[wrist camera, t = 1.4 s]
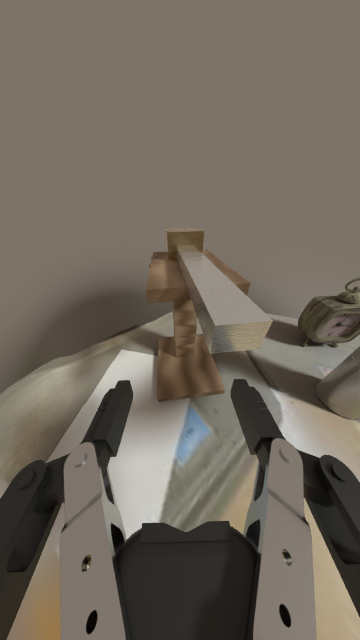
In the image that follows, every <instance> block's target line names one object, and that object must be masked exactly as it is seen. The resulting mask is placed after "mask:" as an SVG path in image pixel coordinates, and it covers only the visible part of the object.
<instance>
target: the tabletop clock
mask: <svg viewBox="0 0 360 640" xmlns="http://www.w3.org/2000/svg"><path fill="white" fill-rule="evenodd" d="M358 280H360V278H357V279H354V280H352V281H350V282H349V283H347V285H346V286H345V289H346V290H347V292H342V293H340V294H338V295H337V296H319V297H315V298H313V299H312V300H311V301H310V302H309V303H308V305H307V306H306V308H305V309H304V311H303V312H302V314H301V316H300V318H299V320H298V328H299V329H300V330H301V331H302V332H303V333H304V334H305V335H306V336H307V337H308V338H307V340H306V341H305V342H303V343H302V346H307V345H308V344H307V342H308V341H309V340H311V341H313V342H316V343H332V346H333V347H338V343H345V342H349V341H351V340H353V339H354V338H355V337H357V336H358V335H359V334H360V294H358V293H356V292H360V288H359V287H354V289H349V288H348V285H349V284H350V283H352V282H354V281H358Z"/></svg>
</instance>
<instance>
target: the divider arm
mask: <svg viewBox="0 0 360 640" xmlns="http://www.w3.org/2000/svg"><path fill="white" fill-rule="evenodd" d="M203 237H204V231H203V230H200V229H198V228H169V229H166V240H167V254H168V260H169V261H170V260H177V261H178V264H179V267H180V270H181V273H182V275H183V278H184V281H185V284H186V287H187V290H188V292H189V295H190V298H191V301H192V304H193V306H194V309H195V312H196V315H197V318H198V321H199V323H200V326H201V329H202V332H203V335H204V337H205V340H206V343H207V346H208V349H209V352H210V354H214V353H224V352H234V351H244V350H254V349H259V348H260V346H261V344H262V342H263V340H264V338H265V336H266V334H267V332H268V330H269V328H270V326H271V324H272V322H273V320H272V319H270V318H269V317H268V316H267V315H266V314H265V313H264V312H263V311H262V310H261V309H260V308H259V307H258V306H257V305H256V304H255V303H254V302H253V301H252V300H250V299H249V298H248V297H247V296H246V295H245V294H244V293H243V292H242V291H241V290H240V289H239V288H238V287H237V286H236V285H235V284H234V283H233V282H232V281H230V280H229V279H228V278H227V277H226V276H225V275H224V274H223V273H222V272H221V271H220V270H219V269H218V268H217V267H216V266H215V265H214V264H213V263H212V262H210V261H209V260H208V259H207V258H206V257H205V256H204V255H203V254H202V251H203Z"/></svg>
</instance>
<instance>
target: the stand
mask: <svg viewBox="0 0 360 640" xmlns="http://www.w3.org/2000/svg"><path fill="white" fill-rule="evenodd" d="M202 254H203V255H204V256H205V257H206V258H207V259H208V260H209V261H210V262H212V263H213V264H214V265H215V266H216V267H217V268H218V269H219V270H220V271H221V272H222V273H223V274H224V275H225V276H226V277H227V278H228V279H229V280H230V281H232V282H233V283H234V284H235V285H236V286H237V287H238V288H239V289H240V290H241V291H242V292H243V293H244V294H245V295H246V296H247V293H248V289H249V286H250V282H248V281H247V280H246V279H244V278H243V277H242V276H240V275H239V274H238V273H237V272H235V271H234V270H232V269H231V268H230V267H229V266H227V265H226V264H225V263H224V262H222V261H221V260H219V259H218V258H217V257H215V256H214V255H213V254H212V253H211V252H209V251H208V250H203V251H202ZM151 259H152V262H151V264H150V265H149V266H150V272H149V277H148V283H147V287H146V292H147V297H148V303H157V302H172V301H173V319H174V337H163V338H158V389H157V399H158V401H165V400H173V399H181V398H190V397H198V396H206V395H214V394H222V393H224V391H225V389H224V386H223V383H222V380H221V378H220V375H219V372H218V369H217V367H216V364H215V361H214V358H213V356H212V354H210V352H209V349H208V346H207V343H206V340H205V337H204V335H203V334H197V335H196V326H197V315H196V312H195V309H194V306H193V304H192V301H191V298H190V295H189V292H188V290H187V287H186V284H185V281H184V278H183V275H182V273H181V270H180V267H179V264H178V261H177V260H170V261H169V260H168V254H167V252H153V257H151Z"/></svg>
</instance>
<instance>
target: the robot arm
mask: <svg viewBox="0 0 360 640" xmlns="http://www.w3.org/2000/svg"><path fill="white" fill-rule="evenodd" d="M315 391H316V394H317V396H318V397H319V399H320V400H321V401H322V402H323V403H324V405H325V406H327V407H328V408H329V409H330V410H332V411H333V412H335V413H336V414H338V415H340V416H342V417H345V418H348V419H353V420H356V419H360V347H359V348H357V349H356V350H355V351H354V352H353V353H352V354H351V355H350V356H348V357H347V358H346V359H345V360H344V361H343V362H342V363H341V364H339V365H338V366H337V367H336V368H335V369H334V370H333V371H331V372H330V373H329V374H328V375H327V376H326V377H325V378H323V379H322V380H321V381H320V382H319V383H318V384H317V385H316V387H315ZM231 399H232V402H233V405H234V408H235V411H236V414H237V417H238V419H239V422H240V425H241V428H242V431H243V434H244V437H245V440H246V443H247V446H248V448H249V451H250V454H251V455H257V457H258V460H259V462H258V467H257V473H256V479H255V484H254V490H253V496H252V500H251V504H250V507H249V510H248V513H247V518H246V523H245V528H244V534H243V535H242V534H241V533H240V532H239V531H237V530H236V529H234V528H233V527H231V526H230V524H229V521H210V522H206V523H204V524H202V525H200V526H198V527H196V528H194V529H193V530H191V531H189V532H183V531H181V530H179V529H176V528H174V527H172V526H170V525H168V524H165V523H142V528H141V529H139V530H138V531H136V532H135V533H134V534H132V535H131V536H130V537H129V538H128V539H126V535H125V531H124V527H123V522H122V519H121V515H120V512H119V510H118V507H117V504H116V500H115V496H114V492H113V487H112V483H111V479H110V474H109V470H108V463H109V460H110V457H116V455H117V452H118V448H119V445H120V442H121V438H122V435H123V431H124V428H125V424H126V421H127V417H128V414H129V410H130V407H131V403H132V400H133V391H132V387H131V384H130V381H129V380H123V381H118V382H117V385H116V387H115V389H110V390H109V391H108V392H107V393H106V394H105V395H104V398H103V400H102V402H101V405H100V406H99V408H98V411H97V412H96V414H95V416H94V418H93V420H92V423H91V425H90V427H89V429H88V431H87V433H86V435H85V437H84V439H83V441H82V442H81V443H80V445H79V446H77V447H76V448H75V449H74V450H73V451H72V452H71V453H69V454H68V455H65V456H63V457H61V458H58V459H56V460H53V461H51V462H48V463H45V462H44V461H42V460H38V461H34V462H32V463H30V464H29V465H27V466H26V467H25V468H23V469H22V470H21V471H20V472H19V473H18V474H17V475H16V477H15V478H14V479H13V481H12V482H11V483H10V485H9V487H8V488H7V490H6V491H5V493H4V494H3V496H2V497H1V499H0V640H6V639H7V637H8V634H9V632H10V629H11V627H12V625H13V622H14V620H15V617H16V615H17V612H18V609H19V607H20V605H21V602H22V600H23V598H24V595H25V592H26V590H27V588H28V585H29V583H30V580H31V578H32V576H33V573H34V571H35V568H36V565H37V563H38V561H39V558H40V556H41V553H42V551H43V549H44V546H45V543H46V541H47V539H48V536H49V534H50V531H51V529H52V526H53V524H54V522H55V519H56V517H57V514H58V512H59V509H60V507H61V504H62V503H64V502H65V525H64V527H63V529H62V531H61V536H60V609H61V610H60V612H61V640H317V639H316V618H315V598H314V577H313V556H312V537H311V530H310V527H309V524H308V522H307V521H306V519H305V516H304V498H305V499H306V502H307V504H308V506H309V508H310V510H311V513H312V515H313V517H314V519H315V521H316V523H317V526H318V528H319V530H320V532H321V534H322V536H323V539H324V541H325V543H326V545H327V547H328V549H329V552H330V554H331V556H332V558H333V560H334V562H335V565H336V567H337V569H338V571H339V573H340V575H341V578H342V580H343V582H344V584H345V586H346V588H347V591H348V593H349V595H350V597H351V599H352V601H353V604H354V606H355V608H356V610H357V612H358V614H359V617H360V482H359V481H358V480H357V478H356V477H355V475H354V474H353V473H352V471H351V470H350V469H349V468H348V467H347V466H346V465H345V464H344V463H342V462H341V461H340V460H338V459H336V458H335V457H333V456H330V455H323V456H322V457H320V458H318V457H315V456H313V455H310V454H307V453H304V452H302V451H299V450H297V449H296V448H295V447H294V446H293V445H291V444H290V443H289V442H288V441H286V439H285V438H284V437H283V435H282V433H281V432H280V430H279V428H278V426H277V424H276V422H275V421H274V419H273V417H272V415H271V413H270V411H269V410H268V409H267V406H266V404H265V402H264V400H263V399H262V397H261V395H260V393H259V392H258V391H257V390H256V389H255V388H254V387H249V385H248V383H247V381H246V380H245V379H234V381H233V385H232V388H231ZM284 558H285V560H286V563H285V561H284ZM87 564H88V565H89V568H88V569H87Z"/></svg>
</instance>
